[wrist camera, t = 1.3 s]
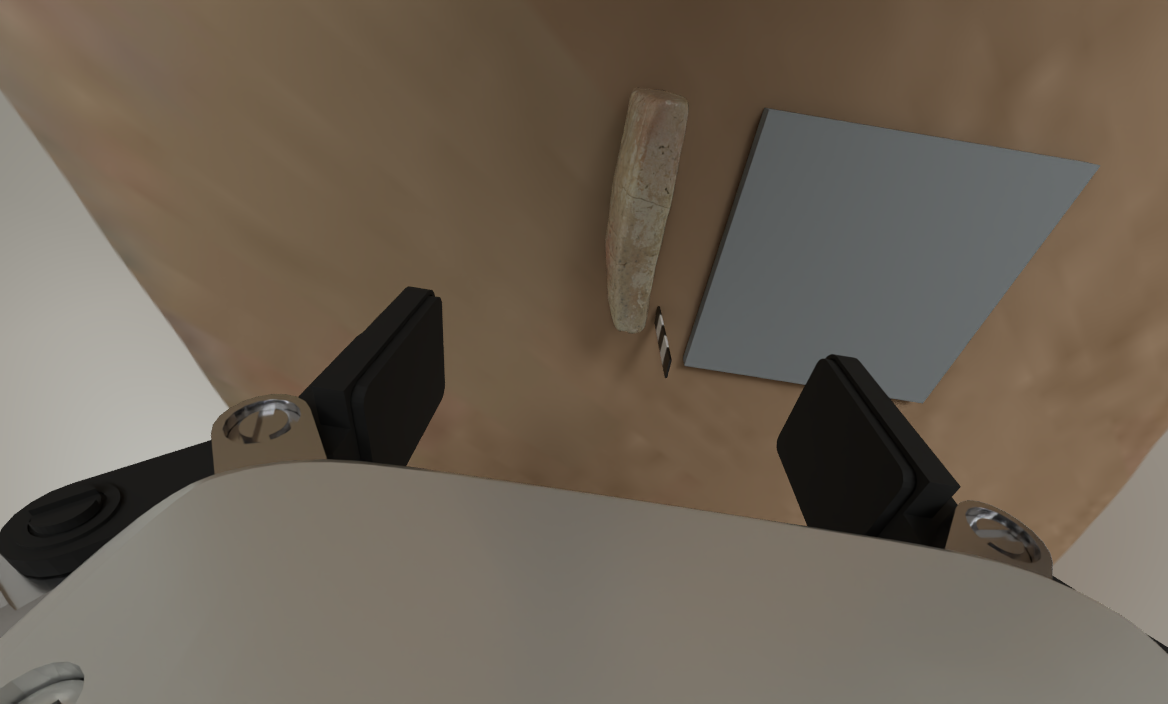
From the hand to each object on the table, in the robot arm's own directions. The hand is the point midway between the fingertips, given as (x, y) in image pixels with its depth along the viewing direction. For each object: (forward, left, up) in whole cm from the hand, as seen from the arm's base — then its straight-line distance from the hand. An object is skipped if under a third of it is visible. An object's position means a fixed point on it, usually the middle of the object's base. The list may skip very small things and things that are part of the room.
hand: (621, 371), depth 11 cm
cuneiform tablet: (0, +1, -15) cm, 15 cm away
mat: (+2, +13, -14) cm, 19 cm away
